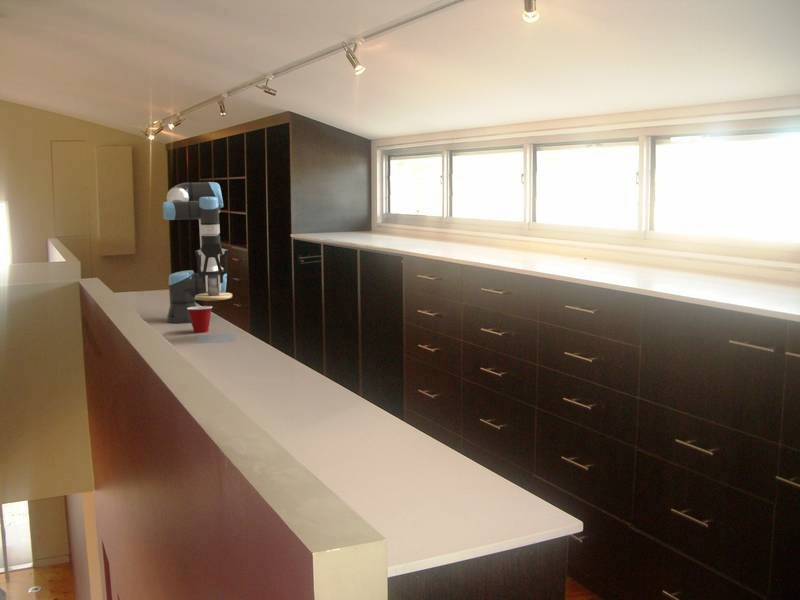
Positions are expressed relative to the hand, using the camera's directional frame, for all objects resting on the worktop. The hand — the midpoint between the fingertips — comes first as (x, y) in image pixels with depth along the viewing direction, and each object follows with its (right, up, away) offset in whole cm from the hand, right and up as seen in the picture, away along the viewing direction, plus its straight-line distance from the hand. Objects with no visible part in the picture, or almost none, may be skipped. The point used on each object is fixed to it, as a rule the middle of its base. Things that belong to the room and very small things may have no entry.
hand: (213, 291), depth 329 cm
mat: (0, -20, +3) cm, 21 cm away
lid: (0, -3, 0) cm, 3 cm away
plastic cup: (-9, -18, +17) cm, 27 cm away
